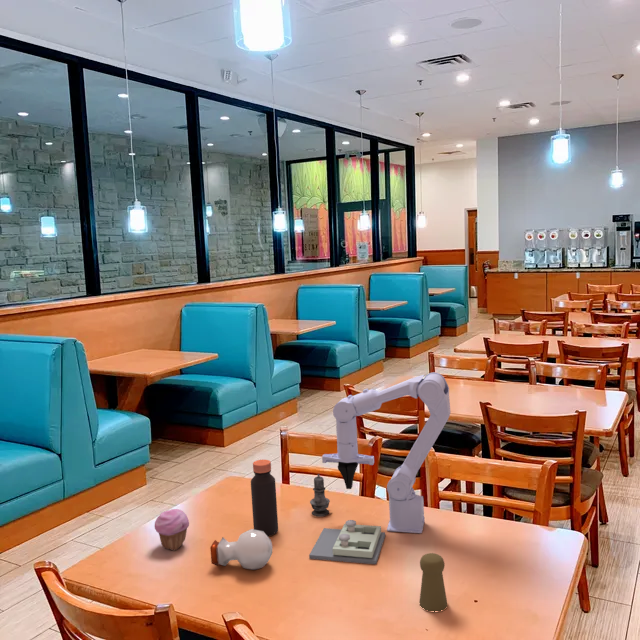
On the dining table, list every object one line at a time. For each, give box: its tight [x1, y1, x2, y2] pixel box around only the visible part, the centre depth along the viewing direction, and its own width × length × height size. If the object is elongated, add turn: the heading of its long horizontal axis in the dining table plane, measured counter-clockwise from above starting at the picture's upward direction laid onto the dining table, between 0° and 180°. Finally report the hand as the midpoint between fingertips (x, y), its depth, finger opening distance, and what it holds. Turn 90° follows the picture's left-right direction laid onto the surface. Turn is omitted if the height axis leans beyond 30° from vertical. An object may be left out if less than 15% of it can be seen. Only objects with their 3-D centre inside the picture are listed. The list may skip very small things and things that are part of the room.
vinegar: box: [250, 459, 279, 537], centre depth 171 cm, size 7×7×20 cm
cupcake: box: [154, 508, 190, 551], centre depth 166 cm, size 9×9×10 cm
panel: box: [333, 523, 382, 558], centre depth 160 cm, size 10×14×2 cm
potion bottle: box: [209, 528, 273, 571], centre depth 153 cm, size 9×10×15 cm
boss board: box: [308, 519, 386, 565], centre depth 161 cm, size 17×15×5 cm
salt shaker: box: [309, 473, 331, 518], centre depth 182 cm, size 6×6×12 cm
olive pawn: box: [419, 552, 448, 613], centre depth 133 cm, size 6×6×11 cm
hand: (349, 487), depth 175 cm, fingers closed
